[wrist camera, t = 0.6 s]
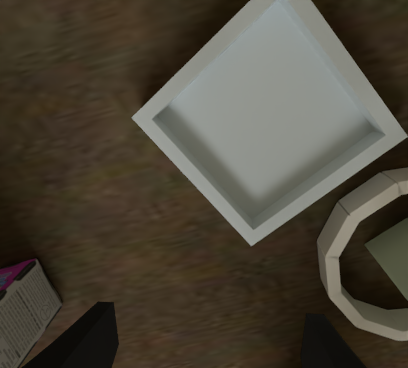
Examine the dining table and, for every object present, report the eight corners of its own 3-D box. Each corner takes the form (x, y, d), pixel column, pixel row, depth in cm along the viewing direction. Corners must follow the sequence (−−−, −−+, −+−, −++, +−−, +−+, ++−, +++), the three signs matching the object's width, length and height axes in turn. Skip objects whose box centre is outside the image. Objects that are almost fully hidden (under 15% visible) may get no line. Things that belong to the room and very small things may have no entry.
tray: (389, 130, 18) (408, 136, 16) (249, 230, 21) (251, 246, 19) (279, -23, 16) (285, -35, 14) (141, 113, 19) (131, 117, 17)
